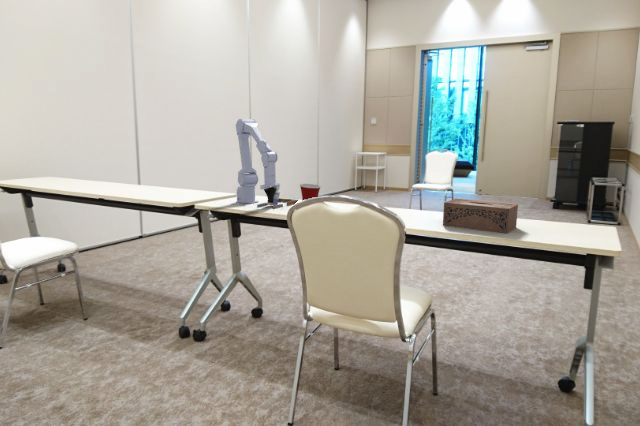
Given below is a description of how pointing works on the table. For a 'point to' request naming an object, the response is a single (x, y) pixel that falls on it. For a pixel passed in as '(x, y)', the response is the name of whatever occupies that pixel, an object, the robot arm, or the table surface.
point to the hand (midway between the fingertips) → (270, 202)
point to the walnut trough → (288, 201)
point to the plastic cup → (309, 190)
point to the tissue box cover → (480, 215)
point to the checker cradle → (267, 204)
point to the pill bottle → (275, 197)
